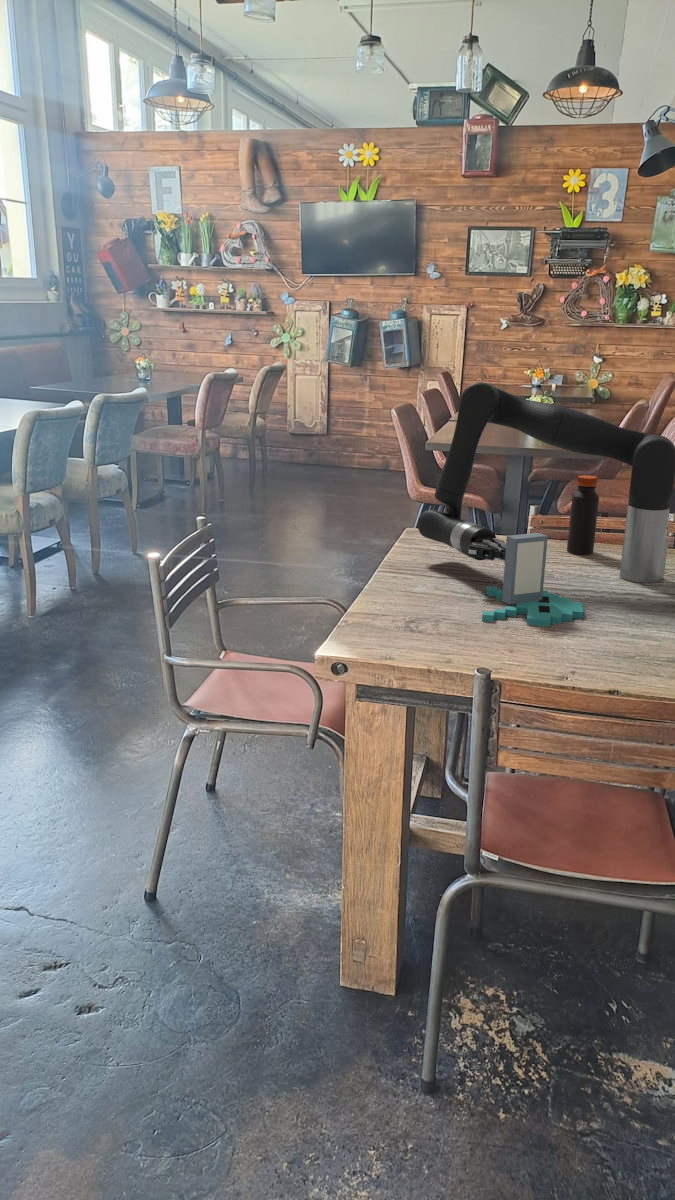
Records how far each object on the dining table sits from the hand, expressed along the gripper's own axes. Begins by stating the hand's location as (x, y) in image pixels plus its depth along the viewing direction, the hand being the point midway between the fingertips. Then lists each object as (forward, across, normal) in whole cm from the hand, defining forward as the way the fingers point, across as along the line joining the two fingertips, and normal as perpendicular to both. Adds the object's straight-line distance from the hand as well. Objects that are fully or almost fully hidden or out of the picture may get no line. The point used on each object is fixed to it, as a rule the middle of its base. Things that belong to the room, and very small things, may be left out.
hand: (514, 558), depth 184 cm
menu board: (+6, -1, +8) cm, 10 cm away
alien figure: (+8, 0, +10) cm, 13 cm away
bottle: (-28, +40, +9) cm, 50 cm away
